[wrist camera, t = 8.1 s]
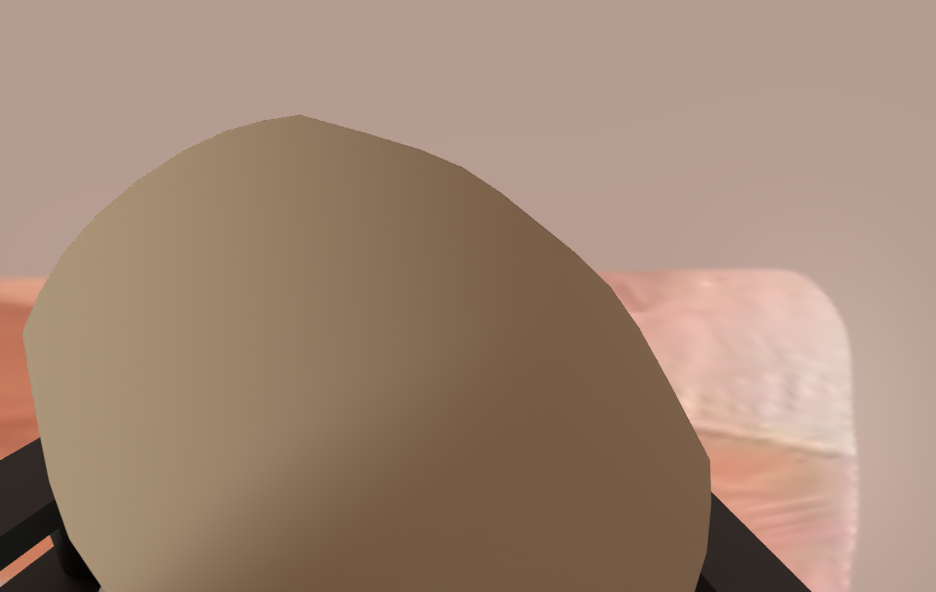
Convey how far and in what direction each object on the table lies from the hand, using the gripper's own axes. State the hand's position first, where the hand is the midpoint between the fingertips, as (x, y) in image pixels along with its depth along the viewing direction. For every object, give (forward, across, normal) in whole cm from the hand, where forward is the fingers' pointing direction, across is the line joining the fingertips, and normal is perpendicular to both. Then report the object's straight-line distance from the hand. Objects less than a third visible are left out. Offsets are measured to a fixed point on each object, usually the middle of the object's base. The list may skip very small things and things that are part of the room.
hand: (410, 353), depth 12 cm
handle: (+4, 0, +7) cm, 8 cm away
